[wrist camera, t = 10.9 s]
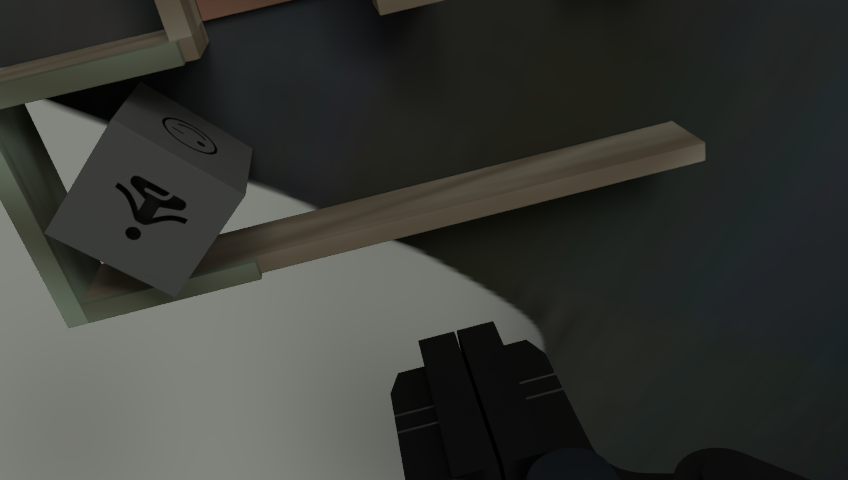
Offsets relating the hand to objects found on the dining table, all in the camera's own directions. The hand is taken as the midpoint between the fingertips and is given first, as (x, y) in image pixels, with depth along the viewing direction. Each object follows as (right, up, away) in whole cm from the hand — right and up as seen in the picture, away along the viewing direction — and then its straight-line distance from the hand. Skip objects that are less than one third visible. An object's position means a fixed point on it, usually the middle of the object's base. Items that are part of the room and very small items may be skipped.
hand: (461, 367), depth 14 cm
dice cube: (-11, +6, +16) cm, 21 cm away
